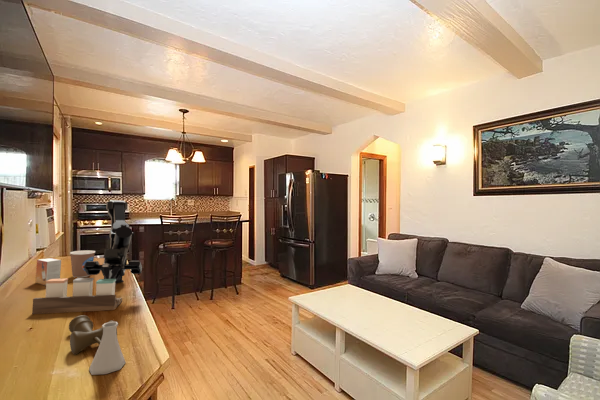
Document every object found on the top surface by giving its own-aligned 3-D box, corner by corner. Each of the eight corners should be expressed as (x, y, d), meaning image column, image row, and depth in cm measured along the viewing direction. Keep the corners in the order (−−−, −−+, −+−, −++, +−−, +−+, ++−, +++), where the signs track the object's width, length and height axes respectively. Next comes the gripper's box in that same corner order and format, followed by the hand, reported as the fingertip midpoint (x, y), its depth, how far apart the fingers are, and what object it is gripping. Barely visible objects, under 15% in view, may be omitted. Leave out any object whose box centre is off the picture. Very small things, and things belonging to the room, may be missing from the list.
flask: (85, 379, 63) (88, 333, 63) (91, 362, 69) (94, 320, 69) (124, 371, 66) (126, 327, 66) (126, 356, 72) (129, 316, 73)
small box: (34, 283, 129) (36, 259, 129) (49, 280, 134) (51, 257, 134) (45, 285, 126) (47, 261, 126) (60, 282, 131) (61, 259, 131)
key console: (46, 305, 104) (47, 291, 104) (121, 301, 110) (122, 288, 110) (32, 314, 95) (33, 298, 95) (114, 309, 102) (114, 295, 102)
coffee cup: (83, 279, 139) (85, 254, 139) (62, 278, 139) (64, 253, 139) (98, 274, 149) (100, 250, 149) (79, 273, 149) (80, 250, 149)
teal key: (98, 301, 105) (99, 279, 105) (114, 300, 106) (115, 278, 107) (94, 304, 102) (96, 281, 102) (111, 303, 103) (112, 281, 103)
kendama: (97, 328, 88) (123, 349, 76) (57, 339, 81) (78, 364, 68) (98, 308, 89) (123, 326, 76) (58, 318, 81) (78, 339, 68)
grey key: (75, 300, 105) (77, 278, 105) (92, 299, 106) (93, 277, 106) (71, 303, 102) (73, 280, 102) (88, 302, 103) (89, 280, 103)
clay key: (49, 301, 103) (51, 278, 103) (66, 300, 104) (68, 278, 104) (44, 304, 100) (45, 281, 100) (62, 303, 101) (63, 280, 101)
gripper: (87, 240, 109) (71, 276, 98) (141, 240, 114) (132, 274, 103) (94, 257, 116) (80, 292, 105) (145, 256, 121) (137, 290, 111)
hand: (107, 287), depth 106 cm, fingers closed, pressing on teal key
